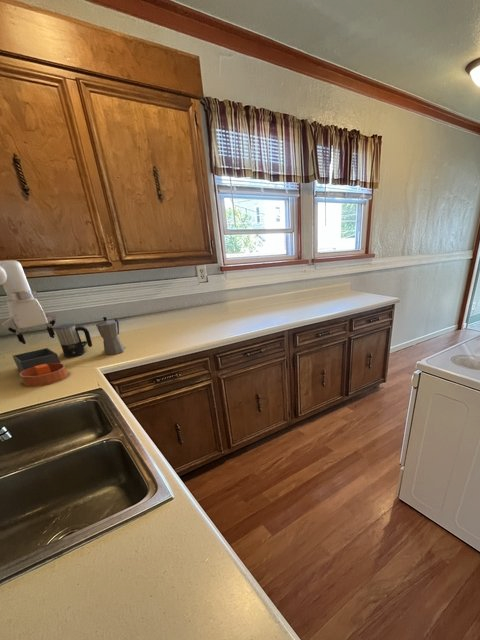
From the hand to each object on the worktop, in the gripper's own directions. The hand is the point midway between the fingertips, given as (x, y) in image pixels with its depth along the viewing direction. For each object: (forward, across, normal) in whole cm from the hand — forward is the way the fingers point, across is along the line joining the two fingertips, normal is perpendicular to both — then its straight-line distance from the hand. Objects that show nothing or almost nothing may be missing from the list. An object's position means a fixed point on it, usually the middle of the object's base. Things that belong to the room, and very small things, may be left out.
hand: (38, 340), depth 130 cm
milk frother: (+17, -20, -31) cm, 41 cm away
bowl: (+17, +2, 0) cm, 17 cm away
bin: (+17, 0, -16) cm, 23 cm away
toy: (+16, +2, 0) cm, 16 cm away
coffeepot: (+17, -33, -15) cm, 40 cm away
